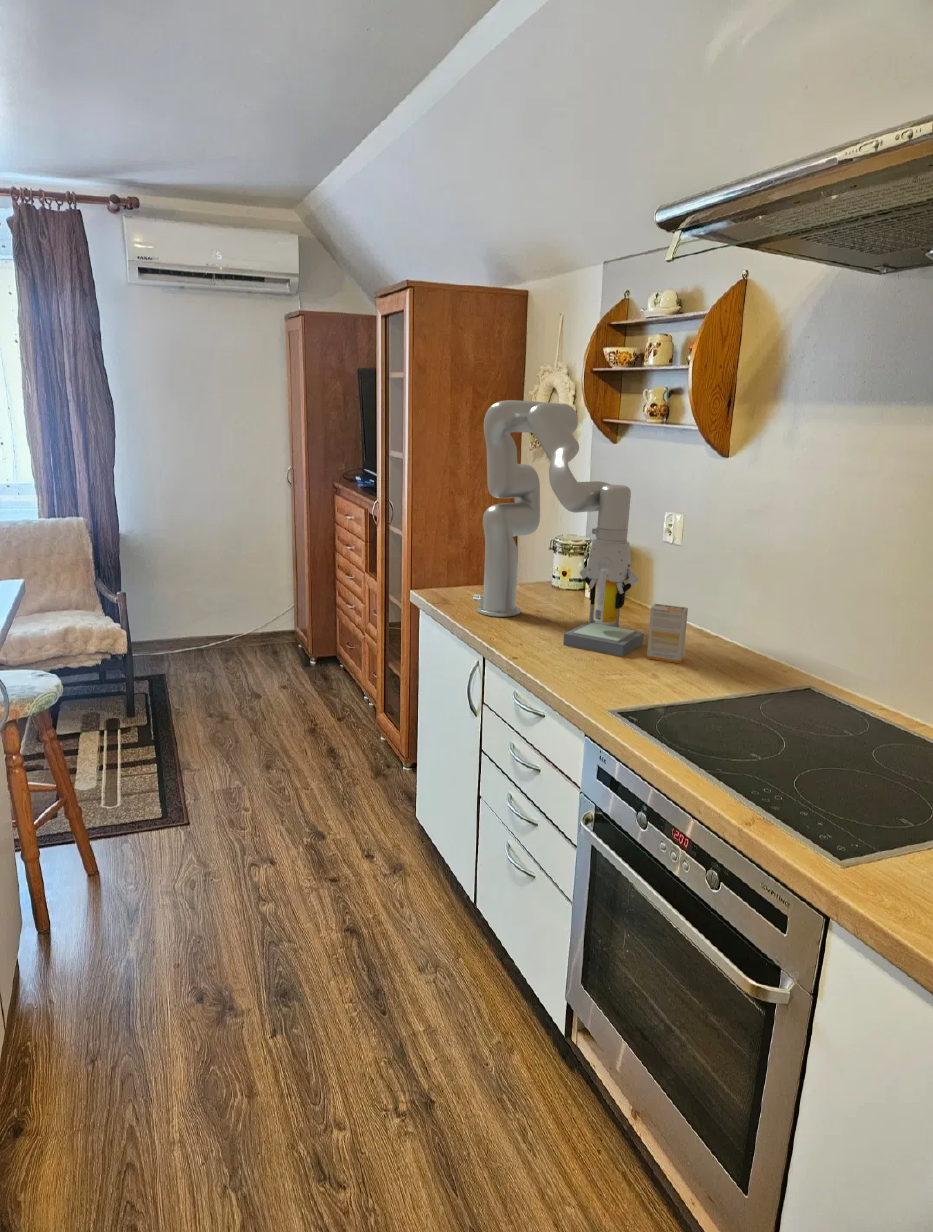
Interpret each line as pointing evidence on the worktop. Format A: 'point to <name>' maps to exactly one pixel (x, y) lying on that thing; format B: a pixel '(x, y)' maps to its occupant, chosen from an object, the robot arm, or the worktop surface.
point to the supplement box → (667, 633)
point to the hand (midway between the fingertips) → (606, 605)
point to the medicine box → (596, 623)
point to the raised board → (603, 639)
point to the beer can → (605, 600)
